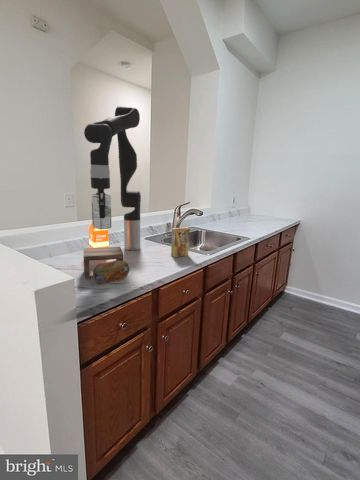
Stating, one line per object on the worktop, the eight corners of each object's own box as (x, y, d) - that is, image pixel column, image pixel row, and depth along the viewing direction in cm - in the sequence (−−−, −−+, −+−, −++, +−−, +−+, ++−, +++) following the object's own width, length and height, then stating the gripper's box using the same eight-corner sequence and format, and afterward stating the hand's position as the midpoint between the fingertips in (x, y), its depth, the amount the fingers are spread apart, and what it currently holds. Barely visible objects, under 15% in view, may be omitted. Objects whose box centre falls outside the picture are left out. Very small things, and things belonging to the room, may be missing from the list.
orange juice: (94, 259, 140) (92, 220, 135) (89, 254, 147) (87, 217, 142) (109, 256, 144) (108, 219, 139) (103, 252, 151) (102, 216, 147)
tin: (94, 286, 109) (93, 265, 107) (92, 283, 111) (91, 263, 109) (129, 278, 117) (129, 259, 115) (126, 275, 120) (126, 257, 118)
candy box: (184, 253, 154) (185, 226, 151) (188, 255, 151) (189, 228, 147) (170, 255, 150) (171, 228, 146) (174, 257, 146) (175, 229, 143)
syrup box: (103, 226, 121) (102, 193, 118) (112, 228, 118) (111, 194, 114) (92, 228, 117) (90, 193, 113) (100, 230, 113) (99, 194, 110)
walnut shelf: (85, 269, 125) (83, 248, 123) (120, 266, 130) (120, 246, 128) (84, 279, 114) (83, 256, 112) (123, 276, 119) (123, 254, 117)
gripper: (90, 175, 117) (92, 213, 121) (90, 177, 104) (92, 219, 108) (108, 176, 120) (109, 213, 124) (111, 177, 106) (112, 219, 111)
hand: (101, 216), depth 116 cm, fingers closed on syrup box, 7 cm apart
